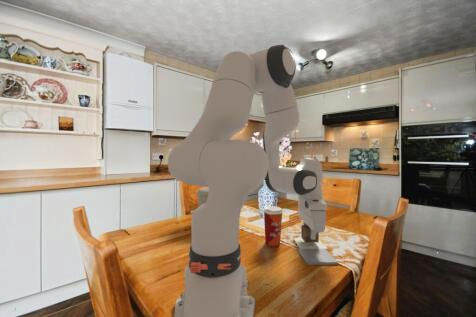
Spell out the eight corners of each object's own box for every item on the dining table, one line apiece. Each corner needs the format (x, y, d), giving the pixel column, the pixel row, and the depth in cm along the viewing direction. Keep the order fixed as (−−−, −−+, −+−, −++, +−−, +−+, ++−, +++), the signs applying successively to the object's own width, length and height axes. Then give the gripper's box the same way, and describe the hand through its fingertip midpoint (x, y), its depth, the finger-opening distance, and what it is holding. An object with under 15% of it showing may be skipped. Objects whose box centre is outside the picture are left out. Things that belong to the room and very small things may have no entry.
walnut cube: (318, 242, 85) (318, 229, 85) (305, 242, 85) (305, 229, 85) (313, 237, 90) (313, 224, 90) (301, 237, 90) (301, 224, 90)
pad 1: (327, 250, 83) (327, 248, 83) (300, 251, 82) (300, 248, 82) (317, 239, 93) (317, 238, 93) (293, 240, 92) (293, 238, 92)
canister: (189, 223, 114) (189, 181, 113) (217, 216, 126) (217, 178, 126) (210, 232, 101) (209, 185, 100) (239, 223, 113) (239, 182, 112)
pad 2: (338, 264, 73) (338, 262, 73) (307, 264, 72) (307, 262, 72) (325, 250, 83) (325, 248, 83) (298, 251, 82) (298, 248, 82)
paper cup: (275, 249, 84) (275, 212, 83) (259, 243, 89) (259, 208, 88) (286, 243, 89) (286, 208, 89) (270, 238, 95) (270, 204, 94)
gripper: (294, 195, 97) (294, 226, 98) (311, 206, 77) (310, 246, 77) (309, 194, 97) (308, 226, 98) (329, 206, 77) (328, 246, 77)
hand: (309, 235), depth 87 cm, fingers closed on walnut cube, 5 cm apart
